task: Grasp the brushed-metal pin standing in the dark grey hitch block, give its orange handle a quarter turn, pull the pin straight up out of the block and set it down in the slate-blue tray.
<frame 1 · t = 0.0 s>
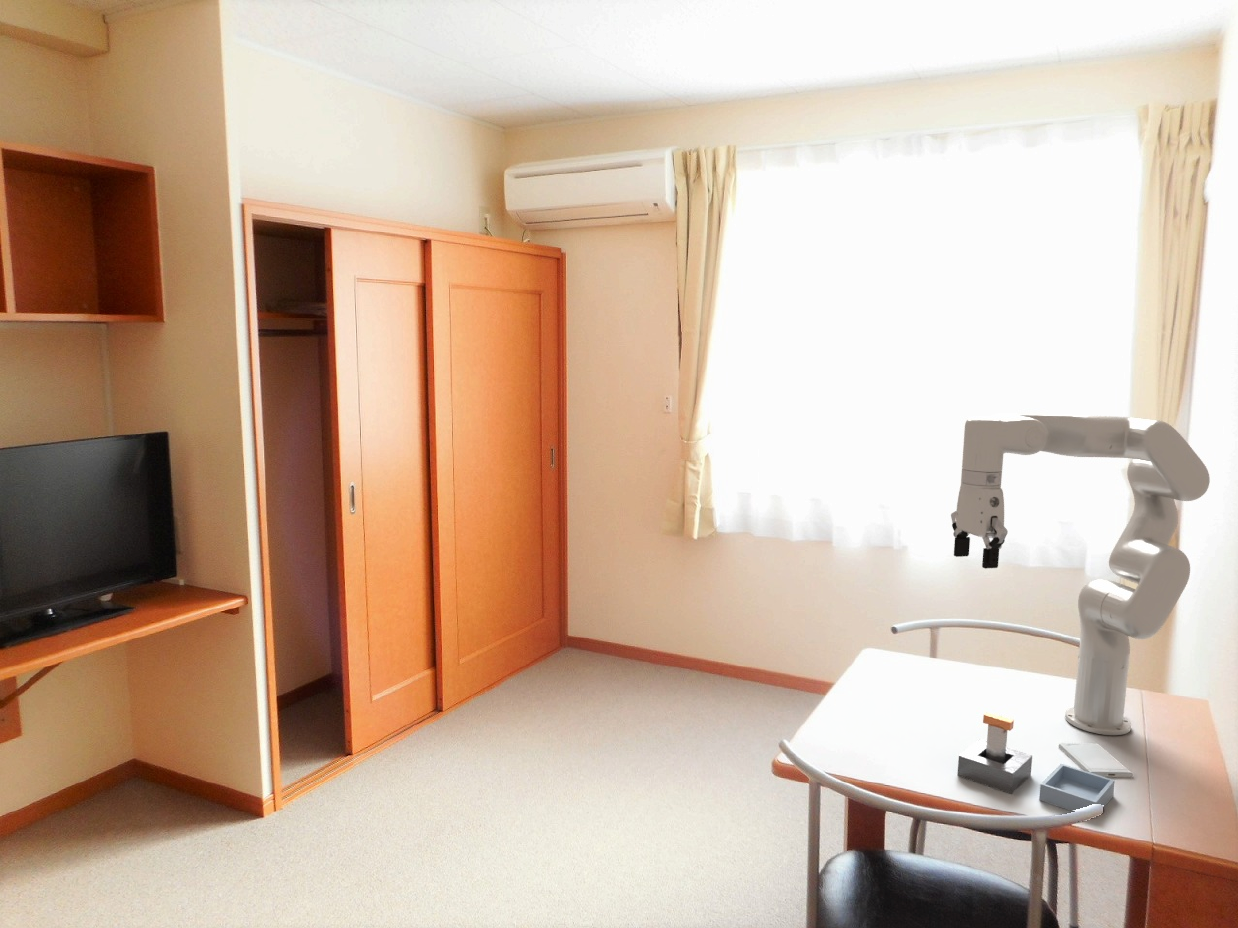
hand: (975, 561, 184), 37 cm above the table, tool pointing down, fingers open, 9 cm apart
pin: (996, 746, 171), in the hitch block
hitch block: (994, 775, 172), on the table
tray: (1076, 797, 164), on the table
hard drive: (1094, 765, 178), on the table
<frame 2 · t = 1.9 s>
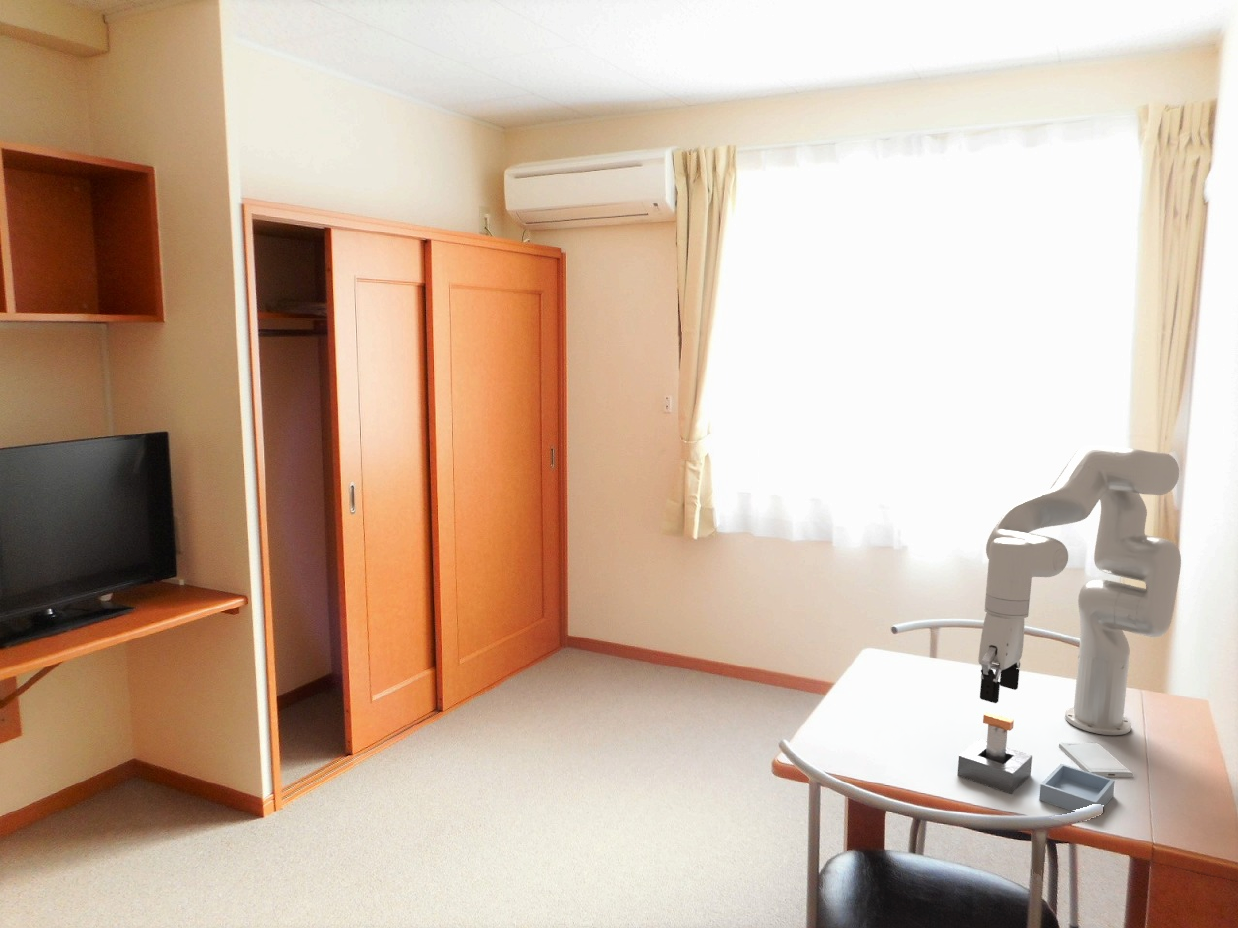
hand: (998, 693, 169), 16 cm above the table, tool pointing down, fingers open, 9 cm apart
nothing on the table moved.
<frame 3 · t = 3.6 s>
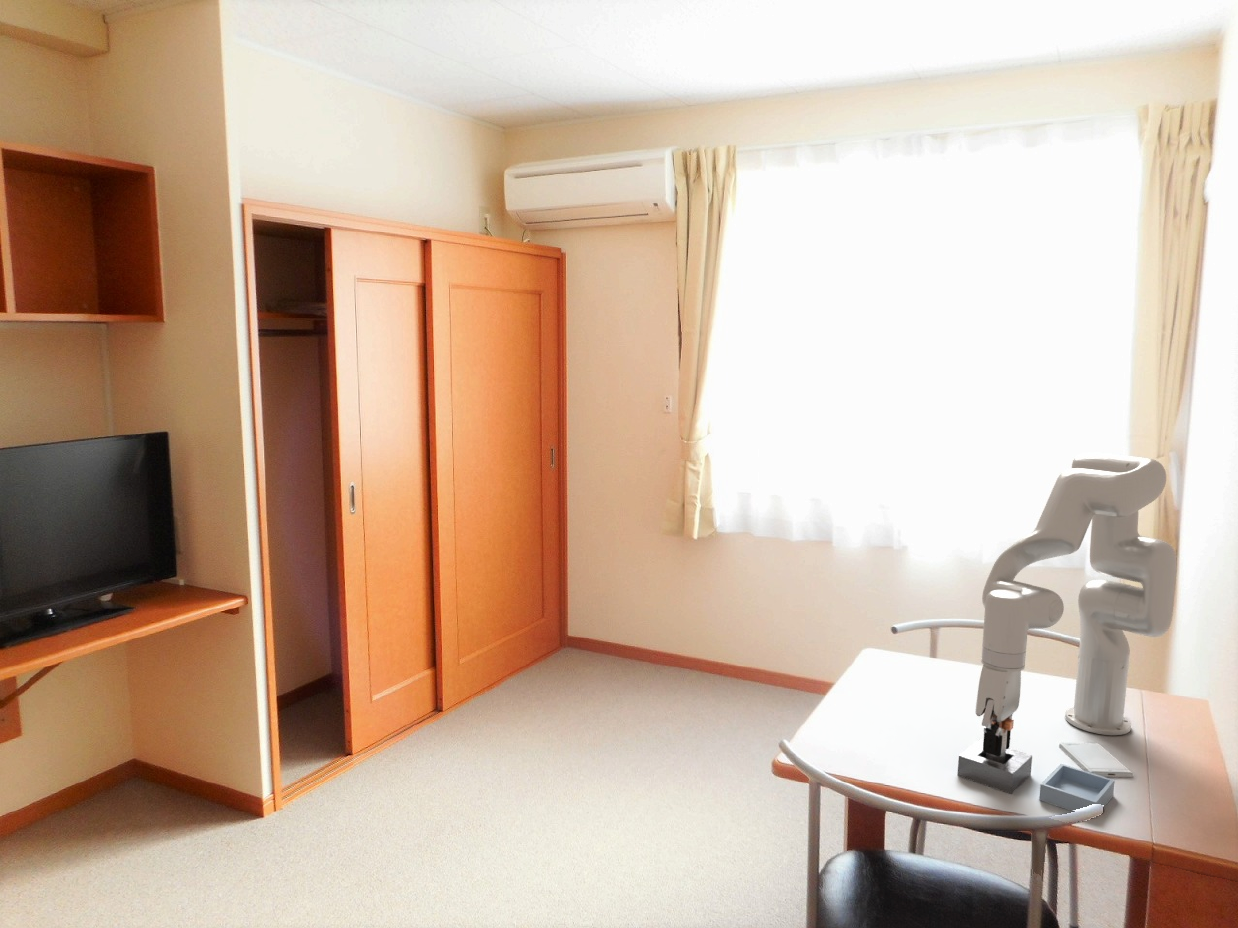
hand: (996, 749, 171), 5 cm above the table, tool pointing down, fingers closed on pin, 3 cm apart
pin: (996, 746, 171), in the hitch block, touching gripper
everything else where it was.
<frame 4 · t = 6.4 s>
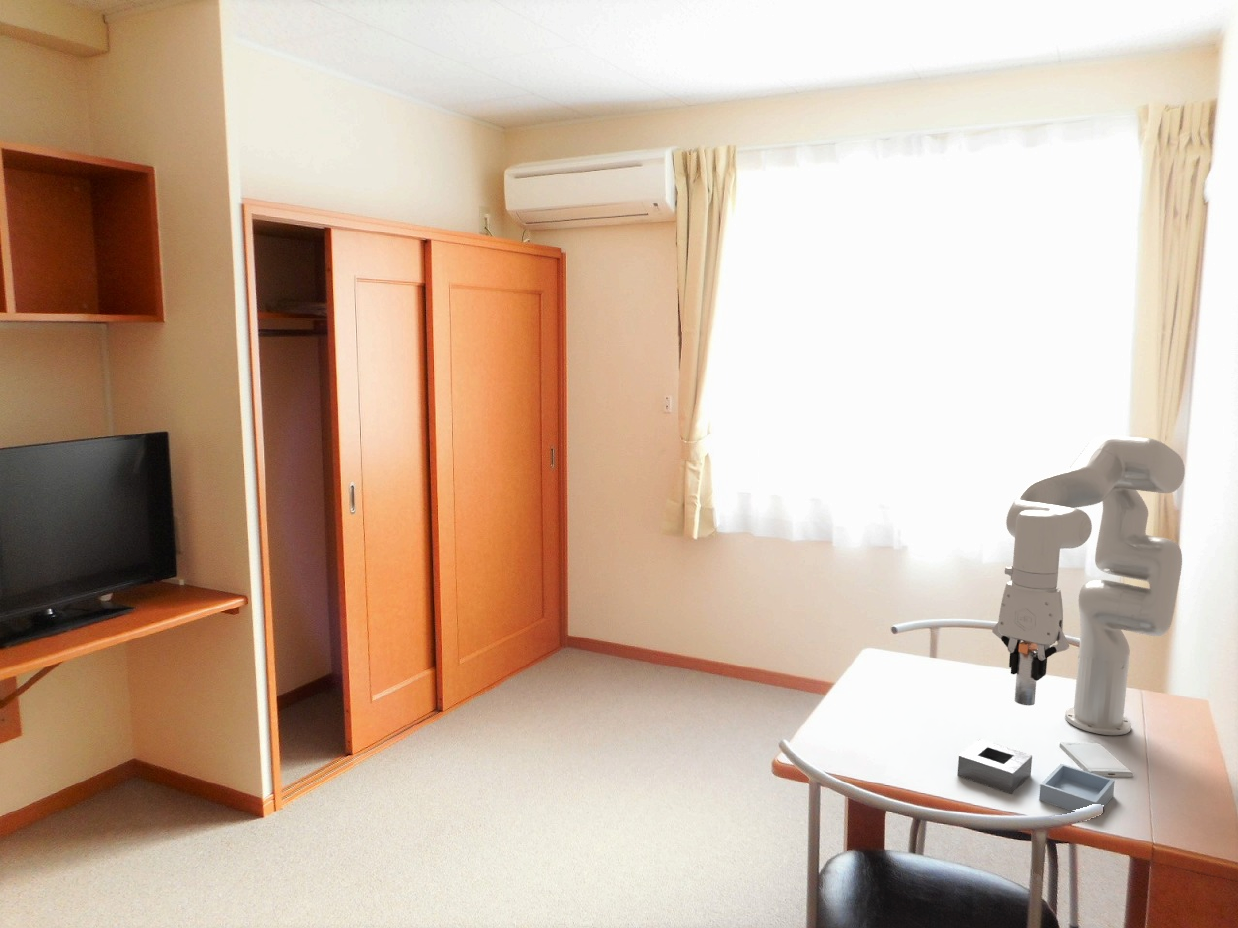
hand: (1026, 674, 167), 21 cm above the table, tool pointing down, fingers closed on pin, 3 cm apart
pin: (1026, 671, 167), point 22 cm above the table, touching gripper
everything else where it was.
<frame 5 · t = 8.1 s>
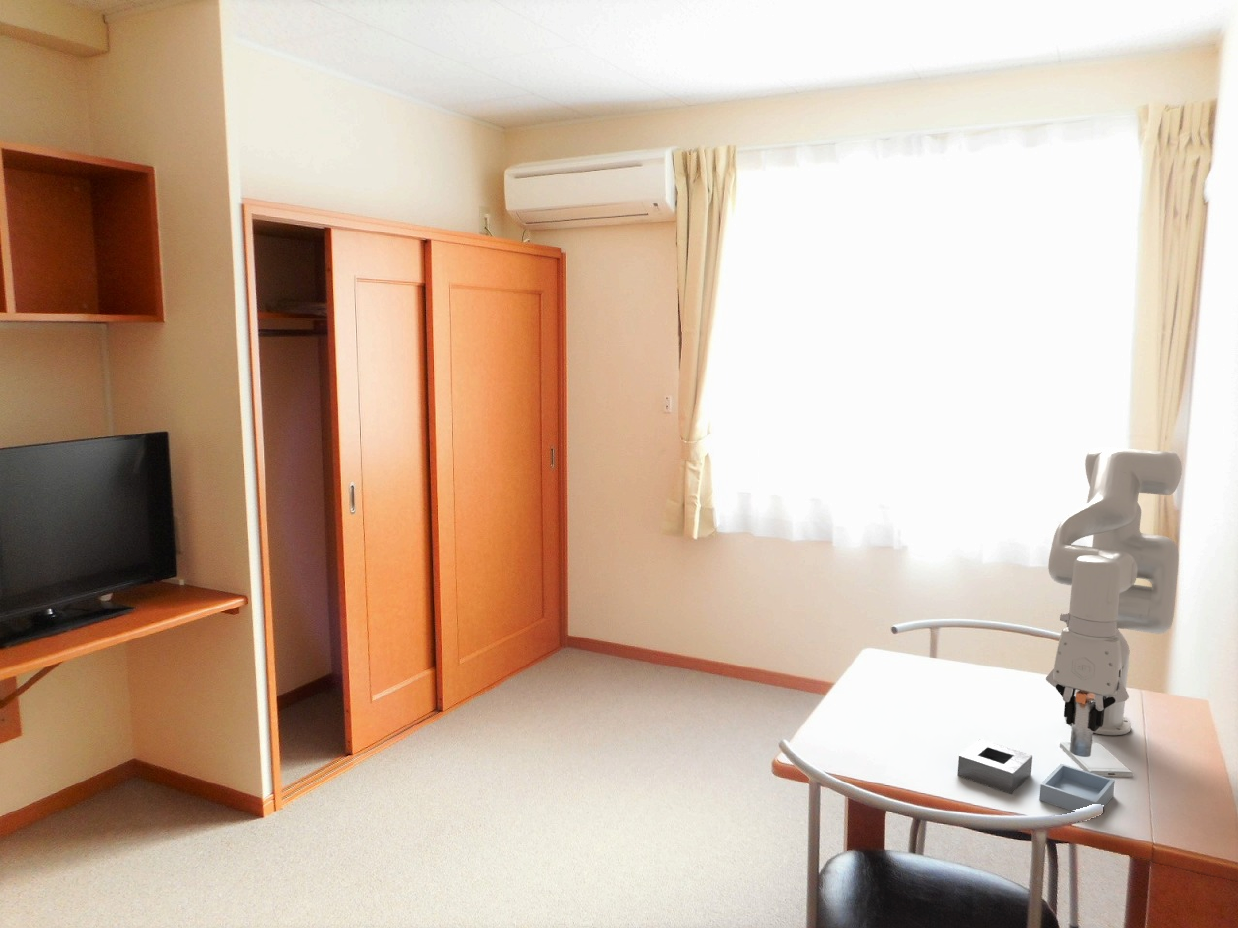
hand: (1082, 724, 162), 14 cm above the table, tool pointing down, fingers closed on pin, 3 cm apart
pin: (1083, 721, 162), point 15 cm above the table, touching gripper
everything else where it was.
when the fingers open (7 cm above the table, at t = 9.4 s): pin drops 1 cm, resting on tray.
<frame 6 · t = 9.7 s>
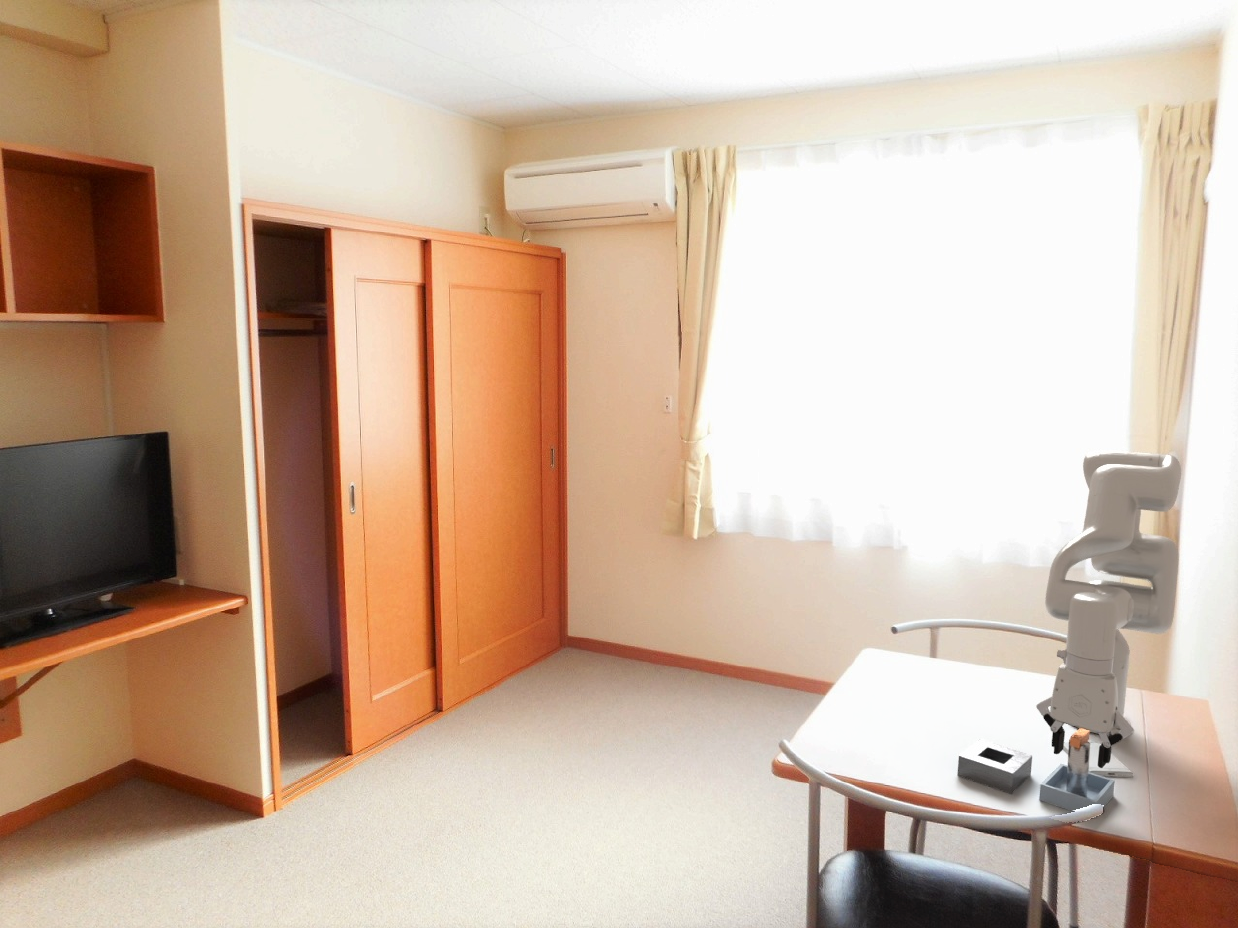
hand: (1080, 757, 163), 8 cm above the table, tool pointing down, fingers open, 6 cm apart
pin: (1078, 764, 163), in the tray, point 6 cm above the table
everything else where it was.
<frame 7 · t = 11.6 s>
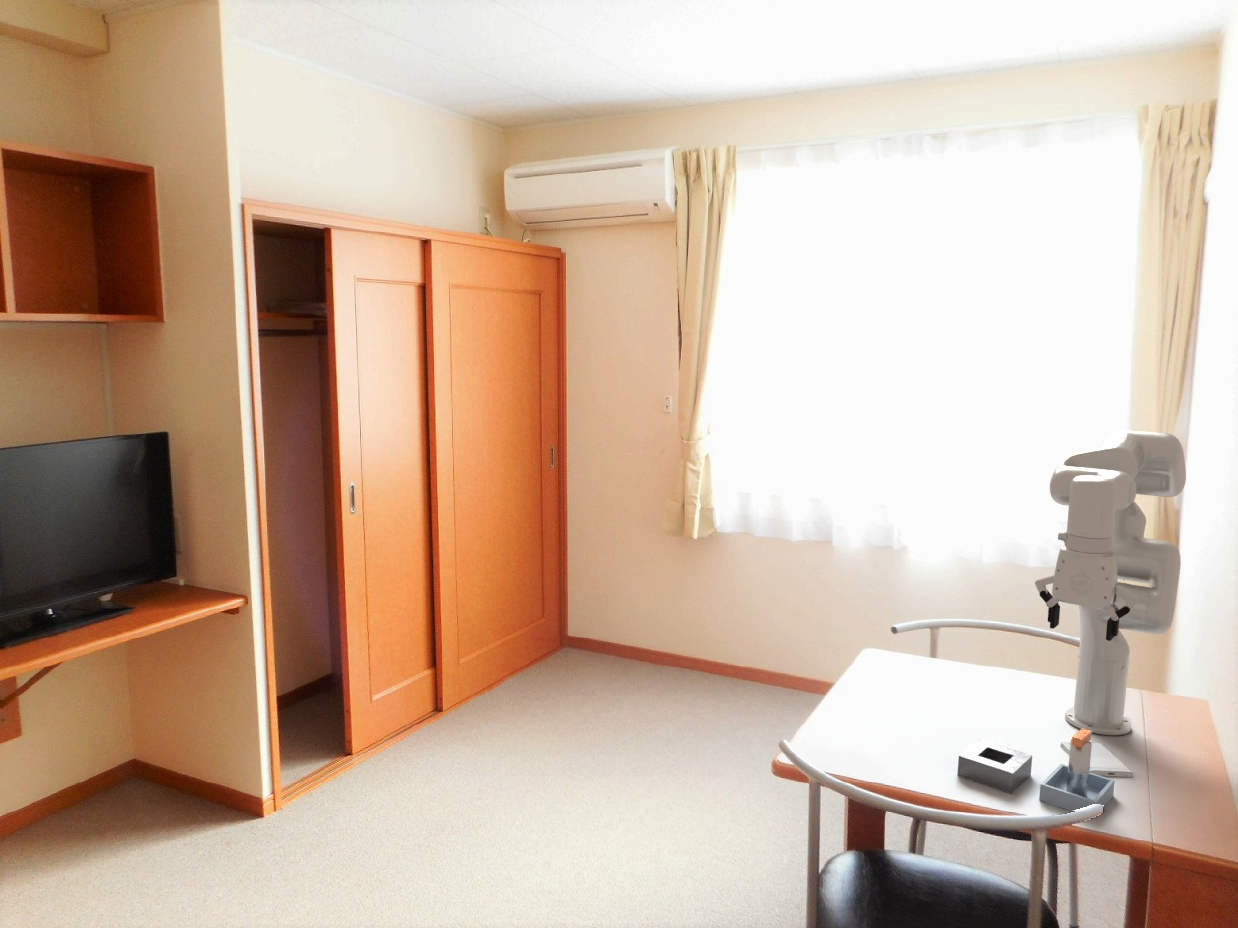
hand: (1081, 632, 168), 28 cm above the table, tool pointing down, fingers open, 9 cm apart
nothing on the table moved.
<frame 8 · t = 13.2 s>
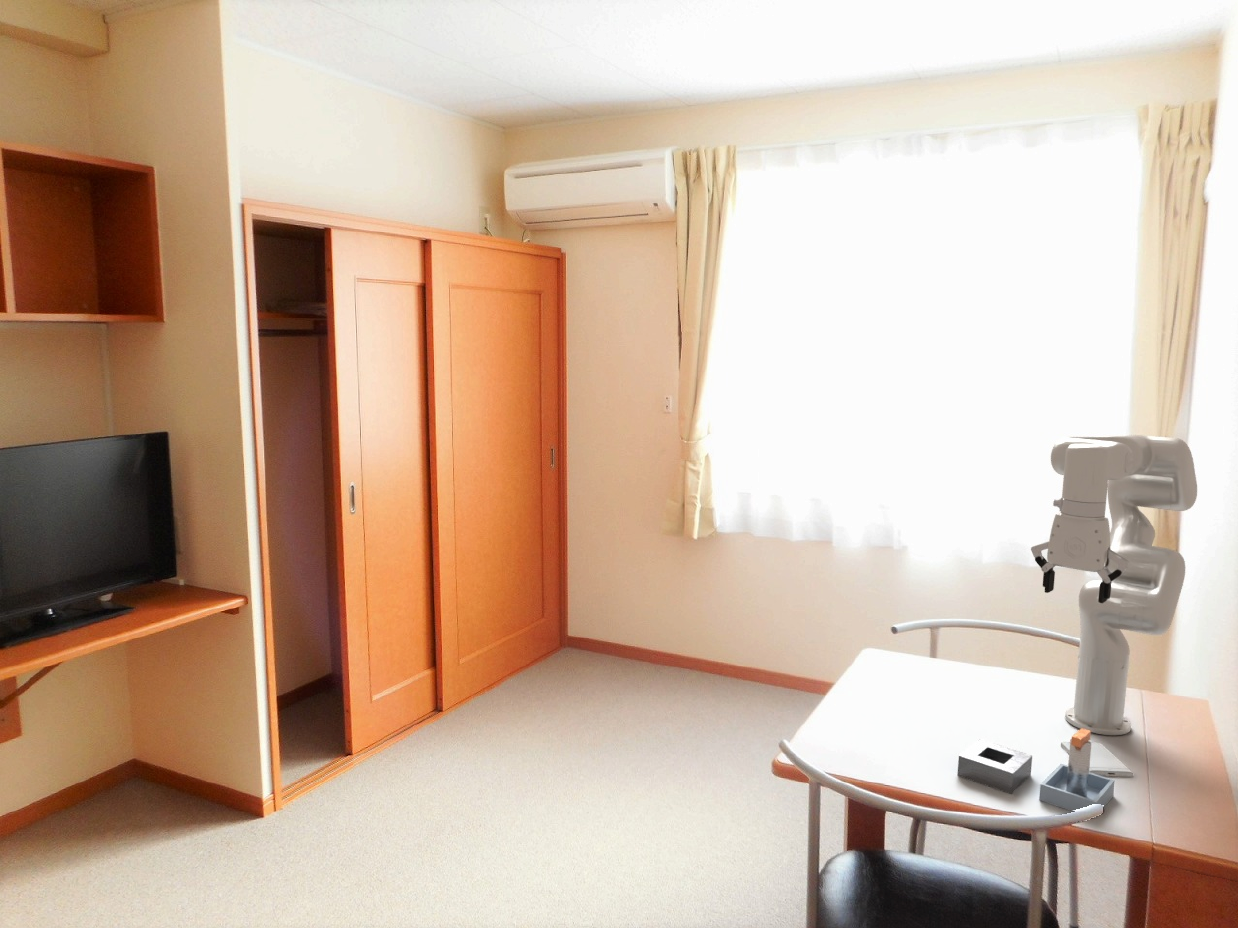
hand: (1075, 596, 174), 33 cm above the table, tool pointing down, fingers open, 9 cm apart
nothing on the table moved.
at the end: pin inside the target area on the tray (0.0 cm from its centre), point 6.4 cm above the tray's base; the gripper is holding nothing; pin touching tray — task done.
